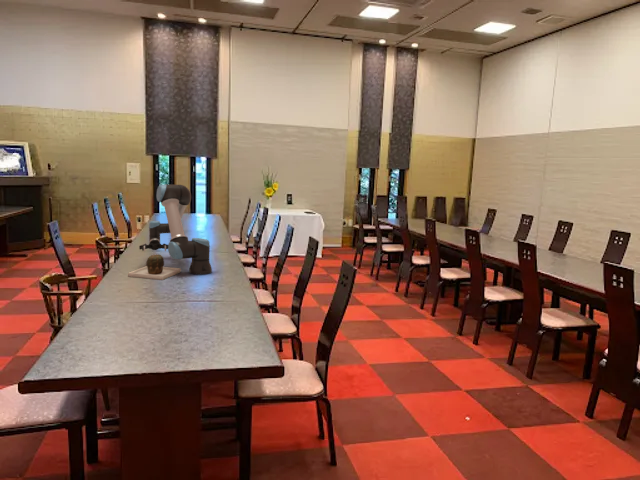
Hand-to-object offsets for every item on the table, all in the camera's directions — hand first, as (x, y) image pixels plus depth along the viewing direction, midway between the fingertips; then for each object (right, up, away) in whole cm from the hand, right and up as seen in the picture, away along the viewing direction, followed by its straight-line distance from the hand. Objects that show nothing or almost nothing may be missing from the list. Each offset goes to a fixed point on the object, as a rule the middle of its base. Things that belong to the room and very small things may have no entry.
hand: (154, 249), depth 321 cm
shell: (+4, -16, -11) cm, 19 cm away
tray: (+4, -16, -11) cm, 20 cm away
